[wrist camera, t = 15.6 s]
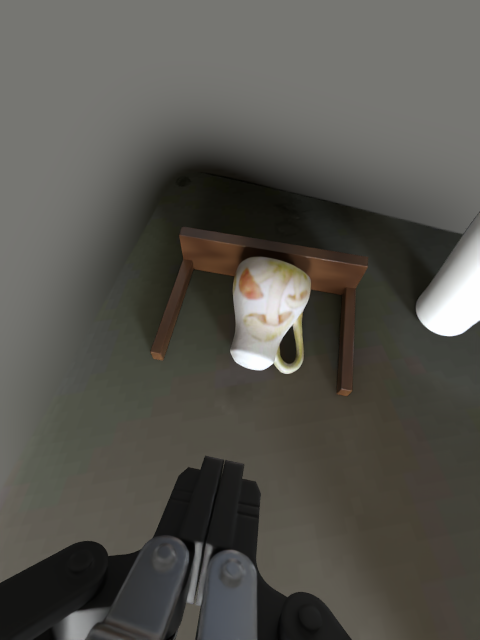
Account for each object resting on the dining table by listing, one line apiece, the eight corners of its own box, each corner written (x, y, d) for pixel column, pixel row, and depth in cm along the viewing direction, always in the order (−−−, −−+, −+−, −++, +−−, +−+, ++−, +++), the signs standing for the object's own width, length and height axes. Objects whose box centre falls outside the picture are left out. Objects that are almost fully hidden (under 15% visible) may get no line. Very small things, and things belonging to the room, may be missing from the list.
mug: (210, 376, 31) (200, 274, 26) (250, 324, 39) (248, 238, 34) (289, 397, 29) (295, 288, 24) (315, 337, 36) (324, 246, 31)
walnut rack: (153, 358, 32) (141, 333, 28) (187, 259, 38) (182, 226, 33) (347, 396, 31) (367, 376, 26) (351, 287, 37) (368, 256, 32)
